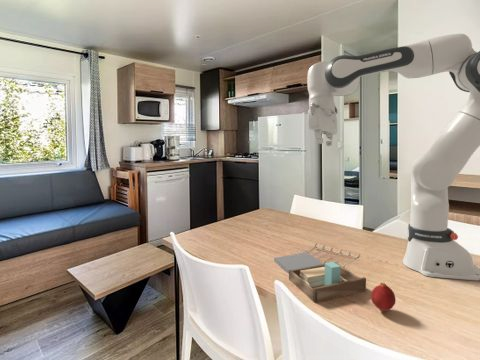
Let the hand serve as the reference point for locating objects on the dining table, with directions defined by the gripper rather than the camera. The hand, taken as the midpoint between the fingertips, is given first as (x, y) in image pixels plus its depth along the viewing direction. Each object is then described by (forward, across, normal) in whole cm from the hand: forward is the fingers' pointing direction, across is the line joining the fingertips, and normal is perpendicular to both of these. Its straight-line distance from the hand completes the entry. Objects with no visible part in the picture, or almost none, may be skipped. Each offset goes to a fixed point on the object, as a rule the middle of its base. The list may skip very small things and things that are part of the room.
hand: (324, 144), depth 111 cm
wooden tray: (+46, -15, -2) cm, 49 cm away
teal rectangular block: (+47, -17, -4) cm, 50 cm away
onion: (+50, -21, -19) cm, 57 cm away
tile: (+43, -6, +11) cm, 45 cm away
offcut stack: (+45, -13, +1) cm, 47 cm away
